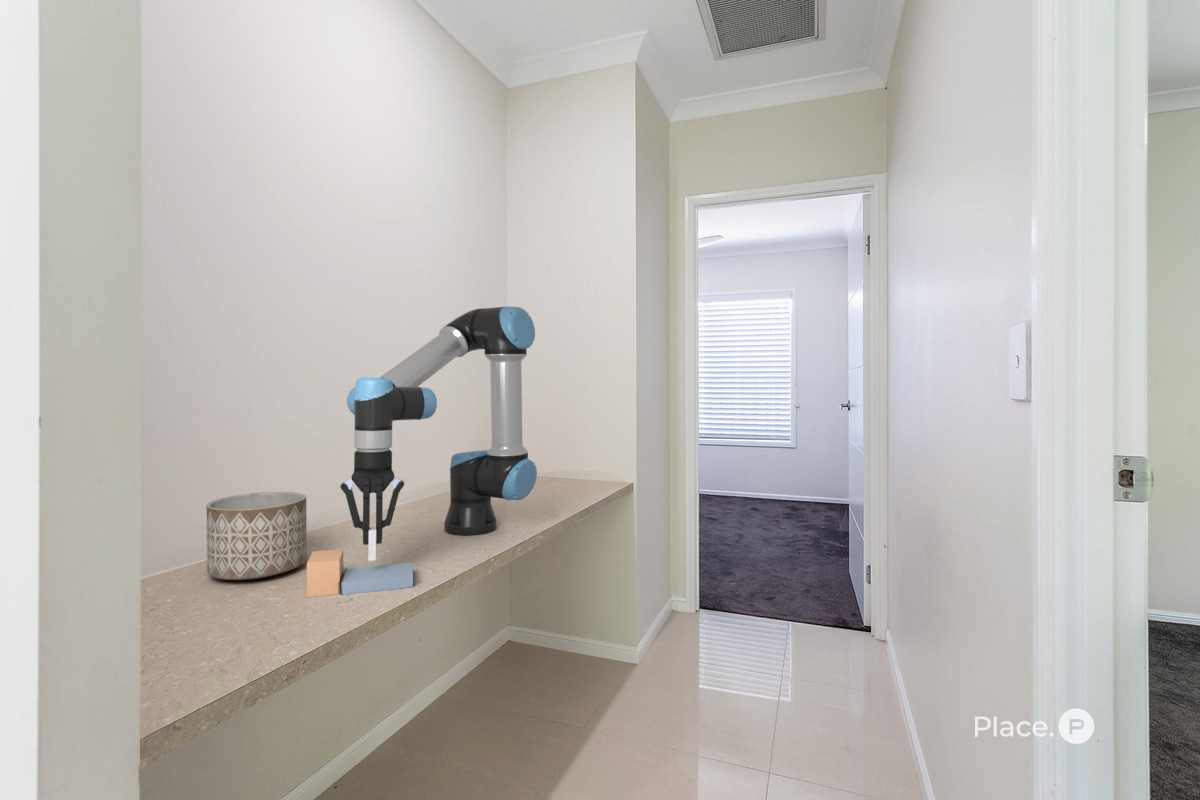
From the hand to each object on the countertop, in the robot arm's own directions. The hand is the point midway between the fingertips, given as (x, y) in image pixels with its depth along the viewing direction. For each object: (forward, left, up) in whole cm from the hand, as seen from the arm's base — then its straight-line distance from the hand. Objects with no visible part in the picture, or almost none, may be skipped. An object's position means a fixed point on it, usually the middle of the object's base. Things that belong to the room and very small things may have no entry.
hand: (372, 558), depth 121 cm
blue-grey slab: (-1, 0, -6) cm, 6 cm away
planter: (+25, -16, -6) cm, 30 cm away
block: (+9, 0, -6) cm, 11 cm away
